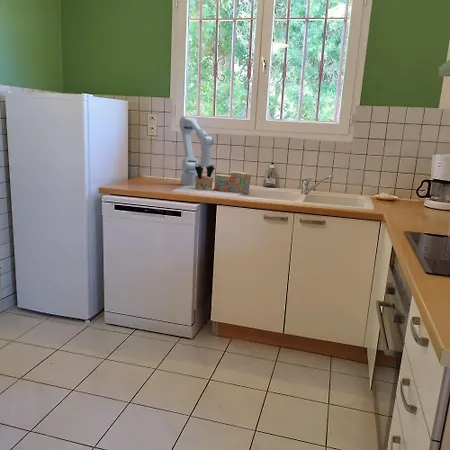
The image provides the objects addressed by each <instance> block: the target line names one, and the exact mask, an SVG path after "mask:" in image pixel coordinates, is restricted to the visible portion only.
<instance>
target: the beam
mask: <svg viewBox="0 0 450 450" xmlns="http://www.w3.org/2000/svg"><path fill="white" fill-rule="evenodd" d="M213 181H214V177H212V176H211V177H207V175H206V176H205V175H202V177H201V179H198V175H197V174H196V175H195V182H198V183H204V184H212V185H213Z"/></svg>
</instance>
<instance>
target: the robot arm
mask: <svg viewBox="0 0 450 450" xmlns="http://www.w3.org/2000/svg"><path fill="white" fill-rule="evenodd" d="M178 124H179V129H180V132H181V136H182V143H183V150H184V156H185V157H184V158H183V159H182V161H181V163H182V165H181V168H182V171H183V172H182V173H181V175H180V184H181V185H184V186H189V187H195V175H198V179H201V177H202V176H203V171H204V168H206V177H212V173H213V172H214V170H215V165H216V164H215V163H211V151H212V146H213V144H214V137H213V136H211V135H208V133H207V132H206V131H205V129H204V128H201V127H200V125H199V124H198V119H197V118H196V117H192V116H191V117H190V116H184V115H183V116H181V117H180V118H179V123H178ZM193 132H195V136H196V137H197V138H198V139H199V143H200V148H201V150H200V162H198V159H197V158H196V157H195V156H194V150H193V144H192V138H191V133H193Z"/></svg>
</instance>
